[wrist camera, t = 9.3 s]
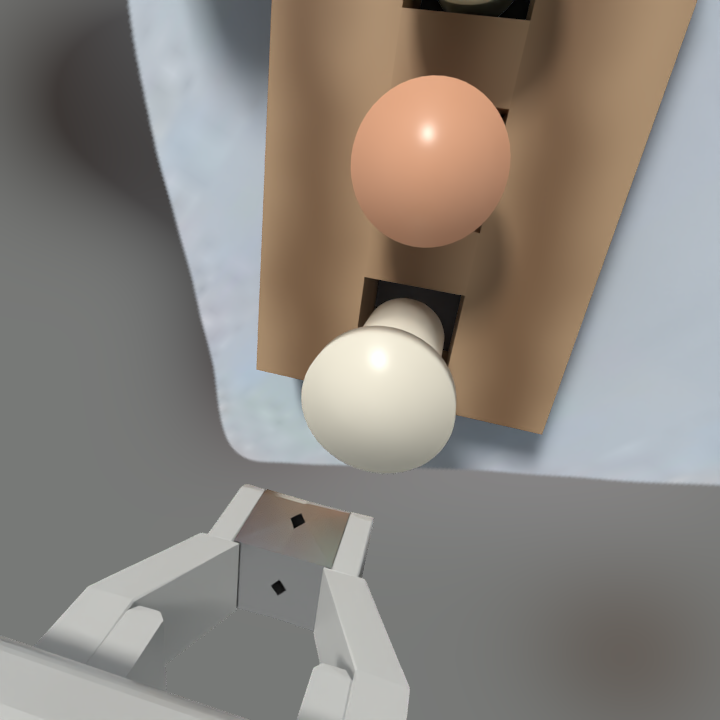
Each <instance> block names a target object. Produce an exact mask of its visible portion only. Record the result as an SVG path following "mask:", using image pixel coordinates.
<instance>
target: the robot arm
mask: <svg viewBox="0 0 720 720" xmlns="http://www.w3.org/2000/svg"><path fill="white" fill-rule="evenodd" d="M373 520H374V519H373V517H369V516H365V515H361V514H357V513H353V512H352V513H351V512H348V511H344V510H340V509H336V508H332V507H328V506H325V505H320V504H317V503H313V502H308V501H305V500H302V499H298V498H295V497H291V496H288V495H285V494H281V493H278V492H274V491H271V490H268V489H267V490H265V489H262V488H259V487H255V486H252V485H249V484H245V485H244V486H243V487H241V488H240V490H239V491H238V492H237V494H236V495H235V496H234V498H233V499H232V501H231V502H230V503H229V505H228V506H227V508H226V509H225V511H224V512H223V514H222V515H221V516H220V518H219V519H218V521H217V522H216V524H215V525H214V526H213V528H212V529H211V530H210V532H209V533H208V534H205V533H199V534H197V535H195V536H193V537H191V538H189V539H187V540H185V541H183V542H181V543H178V544H177V545H174V546H172V547H170V548H168V549H166V550H164V551H162V552H160V553H157V554H155V555H153V556H151V557H149V558H147V559H145V560H143V561H141V562H138V563H136V564H134V565H132V566H130V567H128V568H126V569H124V570H122V571H120V572H117V573H115V574H113V575H111V576H109V577H107V578H105V579H103V580H101V581H99V582H97V583H94V584H92V585H90V586H88V587H87V588H86V589H85V590H84V592H83V593H82V594H81V595H80V596H79V597H78V598H77V599H76V600H75V602H74V603H73V604H72V605H71V606H70V607H69V608H68V609H67V610H66V612H65V613H64V614H63V615H62V616H61V617H60V618H59V619H58V620H57V621H56V622H55V624H54V625H53V626H52V627H51V628H50V629H49V630H48V631H47V632H46V634H45V635H44V636H43V637H42V638H41V639H40V640H39V641H38V642H37V643H36V645H35V646H34V647H32V646H29V645H27V644H24V643H21V642H18V641H15V640H12V639H9V638H6V637H3V636H0V720H248V719H245V718H242V717H239V716H237V715H234V714H230V713H228V712H224V711H222V710H218V709H216V708H213V707H210V706H207V705H204V704H201V703H198V702H195V701H192V700H189V699H186V698H183V697H180V696H177V695H174V694H171V693H168V692H167V691H166V690H167V689H166V668H165V665H166V664H167V663H168V662H170V661H171V660H172V659H174V658H175V657H176V656H177V655H179V654H180V653H182V652H183V651H184V650H186V649H187V648H188V647H189V646H191V645H192V644H193V643H195V642H196V641H197V640H199V639H200V638H201V637H202V636H204V635H205V634H206V633H208V632H209V631H210V630H212V629H213V628H214V627H216V626H217V625H218V624H219V623H221V622H222V621H223V620H225V619H226V618H227V617H229V616H230V615H231V614H232V613H234V612H235V611H236V608H238V609H242V610H246V611H250V612H253V613H257V614H260V615H264V616H268V617H272V618H275V619H278V620H281V621H284V622H287V623H290V624H293V625H296V626H299V627H302V628H305V629H308V630H311V631H314V638H315V643H316V647H317V652H318V657H319V661H320V665H318V666H316V667H314V668H313V671H312V674H311V677H310V680H309V683H308V687H307V690H306V693H305V696H304V699H303V702H302V705H301V708H300V711H299V715H298V718H297V720H406V719H407V710H408V700H409V691H410V688H409V685H408V683H407V680H406V678H405V675H404V673H403V671H402V668H401V666H400V663H399V661H398V658H397V656H396V653H395V651H394V648H393V646H392V644H391V641H390V639H389V636H388V634H387V631H386V629H385V626H384V624H383V622H382V619H381V616H380V614H379V612H378V609H377V607H376V604H375V602H374V599H373V597H372V594H371V592H370V590H369V587H368V585H367V582H366V580H365V579H363V578H362V574H363V570H364V565H365V560H366V555H367V550H368V546H369V541H370V536H371V531H372V526H373Z"/></svg>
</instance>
